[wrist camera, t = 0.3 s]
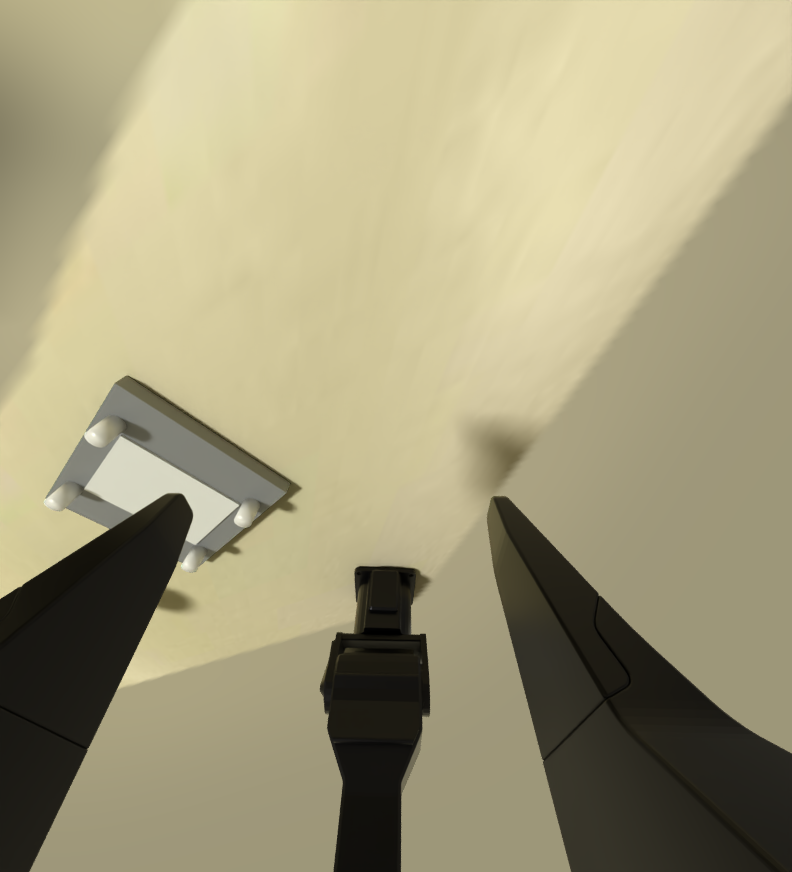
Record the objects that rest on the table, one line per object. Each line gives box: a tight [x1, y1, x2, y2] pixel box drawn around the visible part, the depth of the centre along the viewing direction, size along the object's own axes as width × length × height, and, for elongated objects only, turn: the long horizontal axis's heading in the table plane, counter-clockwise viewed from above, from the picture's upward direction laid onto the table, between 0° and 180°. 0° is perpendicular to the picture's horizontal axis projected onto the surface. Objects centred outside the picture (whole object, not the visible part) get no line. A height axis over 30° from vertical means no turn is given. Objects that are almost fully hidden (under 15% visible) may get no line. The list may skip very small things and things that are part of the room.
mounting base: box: [44, 376, 290, 573], centre depth 29 cm, size 14×16×3 cm
